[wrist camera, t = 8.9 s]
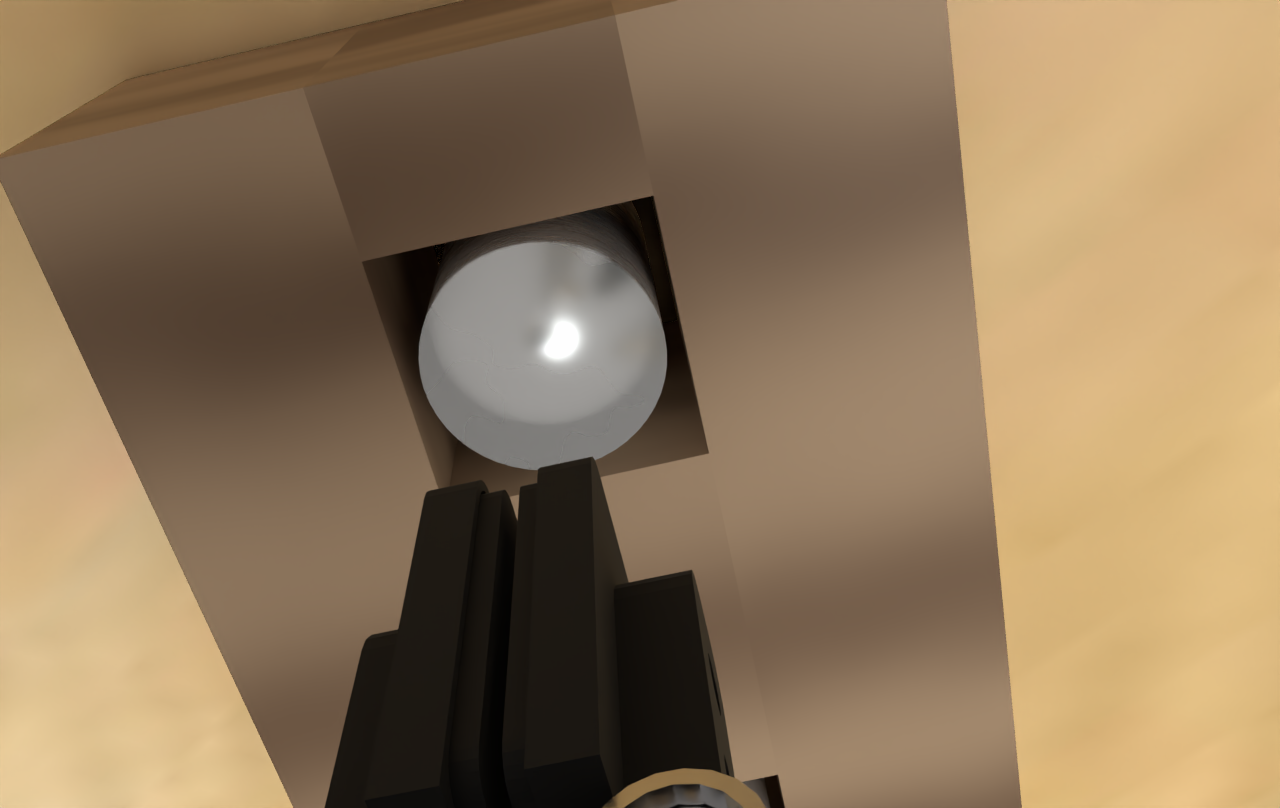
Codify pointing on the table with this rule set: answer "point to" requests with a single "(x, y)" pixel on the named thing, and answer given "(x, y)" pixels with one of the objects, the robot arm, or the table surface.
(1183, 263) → the table surface
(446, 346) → the peg
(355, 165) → the walnut block
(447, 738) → the robot arm
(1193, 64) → the table surface
